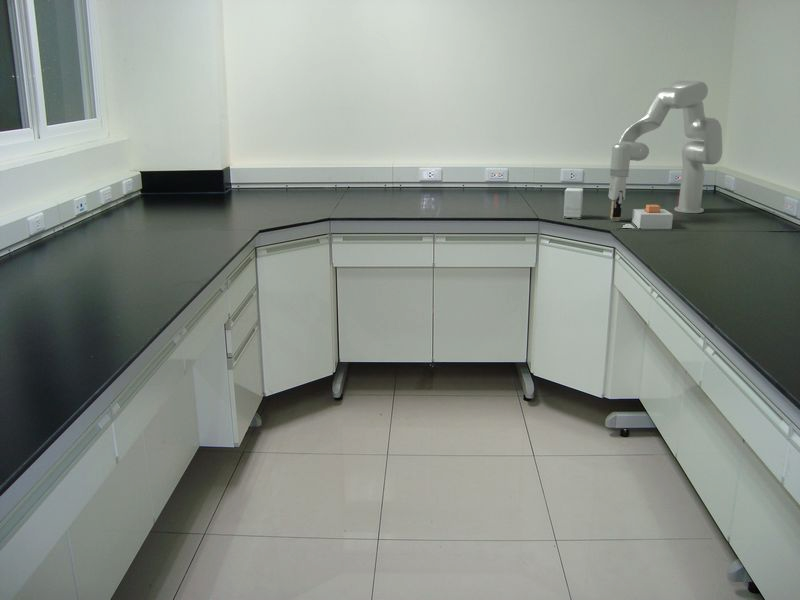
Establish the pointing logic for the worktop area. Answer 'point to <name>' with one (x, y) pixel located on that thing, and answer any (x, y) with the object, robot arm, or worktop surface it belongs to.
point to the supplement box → (573, 202)
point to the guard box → (652, 219)
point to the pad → (628, 226)
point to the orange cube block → (652, 209)
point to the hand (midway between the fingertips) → (615, 215)
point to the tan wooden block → (612, 211)
